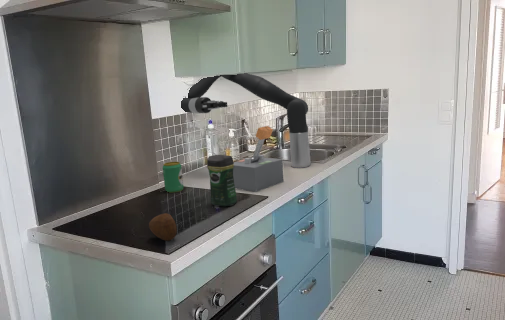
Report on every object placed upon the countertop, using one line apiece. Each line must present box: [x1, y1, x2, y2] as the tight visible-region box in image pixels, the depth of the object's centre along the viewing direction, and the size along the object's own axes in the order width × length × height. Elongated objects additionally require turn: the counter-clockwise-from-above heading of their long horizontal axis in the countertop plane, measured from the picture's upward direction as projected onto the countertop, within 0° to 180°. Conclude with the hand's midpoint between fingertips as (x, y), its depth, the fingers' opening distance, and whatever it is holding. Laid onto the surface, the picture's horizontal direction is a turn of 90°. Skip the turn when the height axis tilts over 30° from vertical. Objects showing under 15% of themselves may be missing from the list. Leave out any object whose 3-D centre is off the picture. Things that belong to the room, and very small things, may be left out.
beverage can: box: [162, 161, 184, 194], centre depth 182 cm, size 8×8×12 cm
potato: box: [148, 212, 178, 242], centre depth 126 cm, size 7×10×8 cm
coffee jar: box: [206, 154, 238, 207], centre depth 156 cm, size 10×8×19 cm
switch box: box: [233, 154, 285, 193], centre depth 182 cm, size 18×16×12 cm
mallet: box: [249, 125, 274, 163], centre depth 177 cm, size 6×3×16 cm, turn 138°
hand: (226, 104), depth 190 cm, fingers closed
